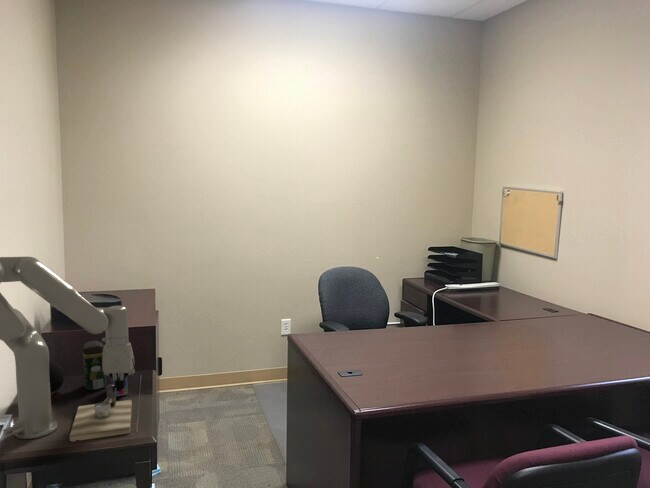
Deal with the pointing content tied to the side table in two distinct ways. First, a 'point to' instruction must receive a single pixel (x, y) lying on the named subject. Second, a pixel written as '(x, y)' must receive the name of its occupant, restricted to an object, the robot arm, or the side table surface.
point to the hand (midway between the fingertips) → (120, 389)
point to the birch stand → (101, 422)
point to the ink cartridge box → (125, 390)
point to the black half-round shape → (55, 381)
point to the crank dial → (106, 403)
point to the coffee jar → (93, 365)
